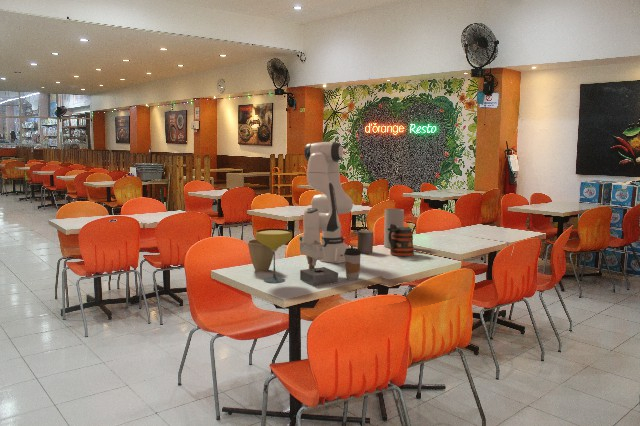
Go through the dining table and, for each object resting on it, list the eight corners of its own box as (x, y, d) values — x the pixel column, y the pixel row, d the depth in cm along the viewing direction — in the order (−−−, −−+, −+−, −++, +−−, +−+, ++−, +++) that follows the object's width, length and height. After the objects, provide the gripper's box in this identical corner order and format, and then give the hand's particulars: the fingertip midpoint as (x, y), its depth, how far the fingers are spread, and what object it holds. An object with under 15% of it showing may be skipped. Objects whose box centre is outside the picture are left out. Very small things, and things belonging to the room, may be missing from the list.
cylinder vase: (386, 244, 363) (386, 208, 360) (404, 245, 359) (405, 209, 356) (382, 248, 351) (383, 210, 348) (401, 249, 347) (402, 211, 344)
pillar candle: (354, 252, 336) (354, 229, 334) (362, 250, 344) (363, 227, 342) (367, 254, 330) (368, 231, 328) (375, 252, 338) (376, 229, 336)
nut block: (324, 276, 276) (324, 267, 275) (338, 282, 264) (338, 272, 263) (300, 279, 269) (300, 270, 268) (313, 286, 257) (313, 276, 256)
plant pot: (246, 273, 282) (245, 243, 280) (250, 267, 296) (249, 238, 294) (274, 273, 282) (274, 244, 280) (277, 267, 296) (276, 239, 294)
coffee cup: (341, 278, 273) (341, 249, 271) (351, 275, 278) (352, 247, 276) (353, 281, 267) (353, 251, 265) (364, 278, 272) (364, 249, 270)
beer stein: (399, 258, 318) (400, 226, 316) (380, 255, 329) (381, 223, 326) (418, 254, 331) (419, 222, 329) (399, 251, 342) (400, 220, 339)
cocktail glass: (280, 274, 280) (279, 227, 277) (299, 281, 266) (299, 232, 263) (249, 279, 270) (249, 230, 266) (268, 287, 255) (267, 235, 252)
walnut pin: (312, 270, 284) (312, 252, 283) (315, 271, 282) (315, 253, 280) (307, 271, 283) (307, 252, 282) (310, 272, 280) (310, 253, 279)
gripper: (326, 241, 273) (326, 268, 275) (307, 235, 290) (308, 260, 292) (315, 243, 269) (316, 269, 271) (297, 236, 287) (297, 261, 289)
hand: (311, 264), depth 282 cm, fingers closed on walnut pin, 3 cm apart
